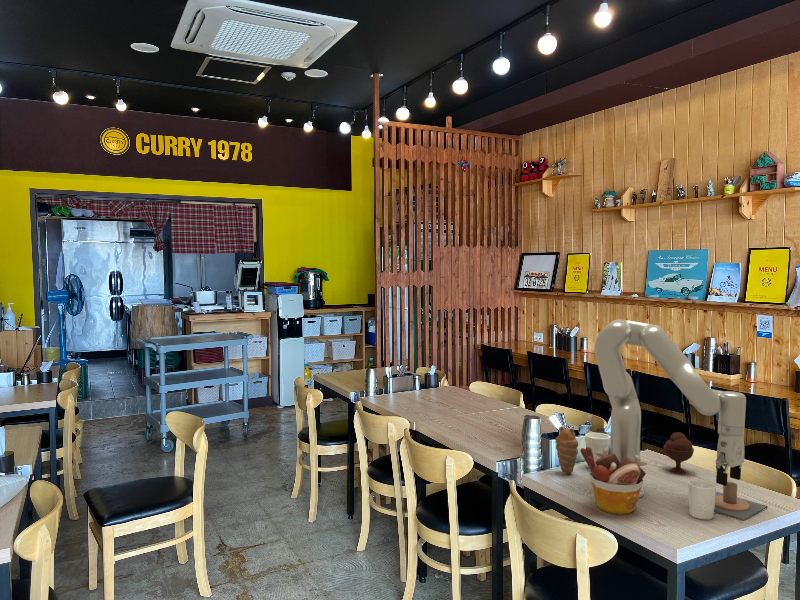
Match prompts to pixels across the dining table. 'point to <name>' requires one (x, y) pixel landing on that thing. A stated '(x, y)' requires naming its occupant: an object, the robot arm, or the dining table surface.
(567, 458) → the cat ice cream
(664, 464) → the dining table surface
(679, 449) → the ice cream bowl
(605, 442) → the foam cup
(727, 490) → the lid
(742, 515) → the mat
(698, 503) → the white cup
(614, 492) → the bucket of meat
